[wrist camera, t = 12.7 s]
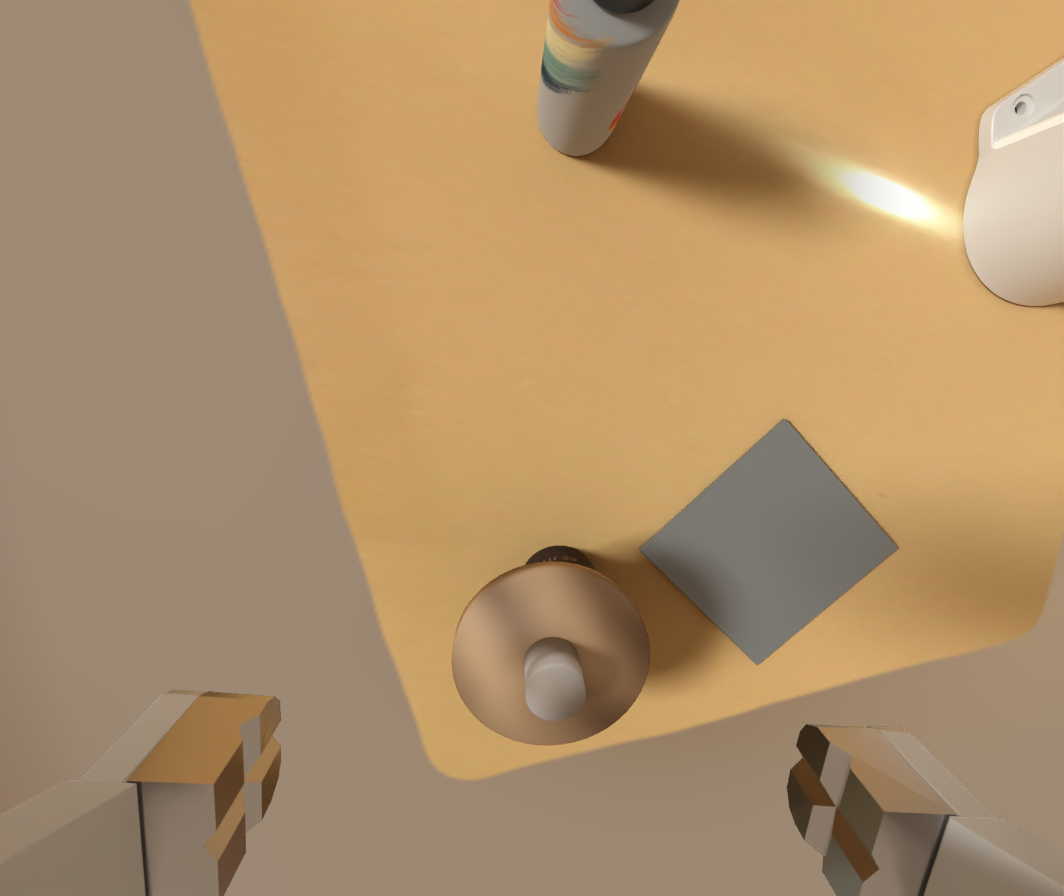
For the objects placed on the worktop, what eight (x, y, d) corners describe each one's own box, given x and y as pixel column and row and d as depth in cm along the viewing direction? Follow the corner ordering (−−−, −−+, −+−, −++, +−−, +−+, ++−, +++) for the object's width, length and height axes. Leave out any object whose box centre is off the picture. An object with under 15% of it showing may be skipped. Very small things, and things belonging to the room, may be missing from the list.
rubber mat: (783, 418, 42) (786, 419, 42) (894, 545, 45) (898, 548, 45) (639, 548, 44) (640, 551, 44) (754, 662, 47) (757, 665, 47)
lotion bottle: (624, 79, 36) (757, -209, 17) (605, 166, 38) (709, -10, 18) (545, 59, 36) (588, -262, 16) (528, 147, 37) (551, -54, 18)
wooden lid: (551, 522, 33) (557, 551, 29) (684, 647, 35) (708, 690, 31) (413, 653, 35) (399, 699, 30) (548, 763, 37) (554, 820, 33)
